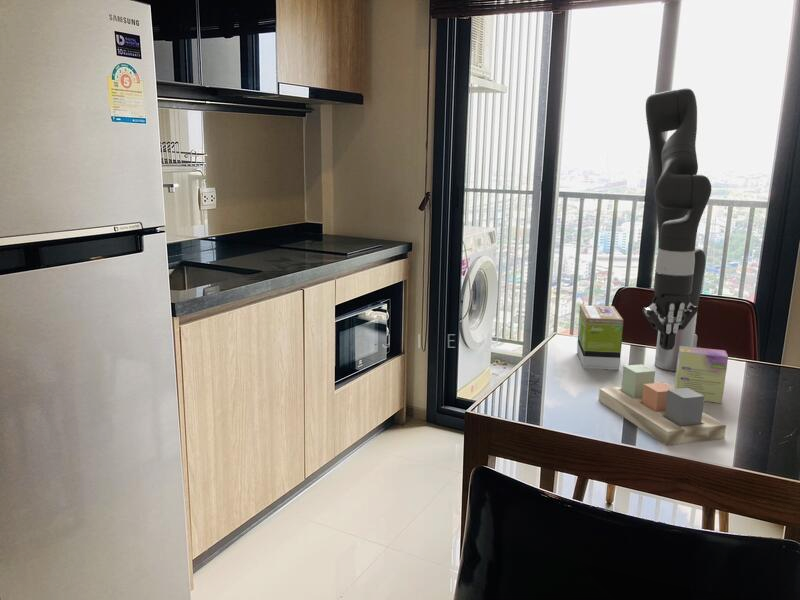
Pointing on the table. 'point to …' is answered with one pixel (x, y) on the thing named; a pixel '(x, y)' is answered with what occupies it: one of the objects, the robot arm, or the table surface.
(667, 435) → the light wooden board
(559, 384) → the table surface
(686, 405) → the grey block
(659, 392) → the button terracotta
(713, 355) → the box
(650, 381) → the button sage
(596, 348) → the tea box
